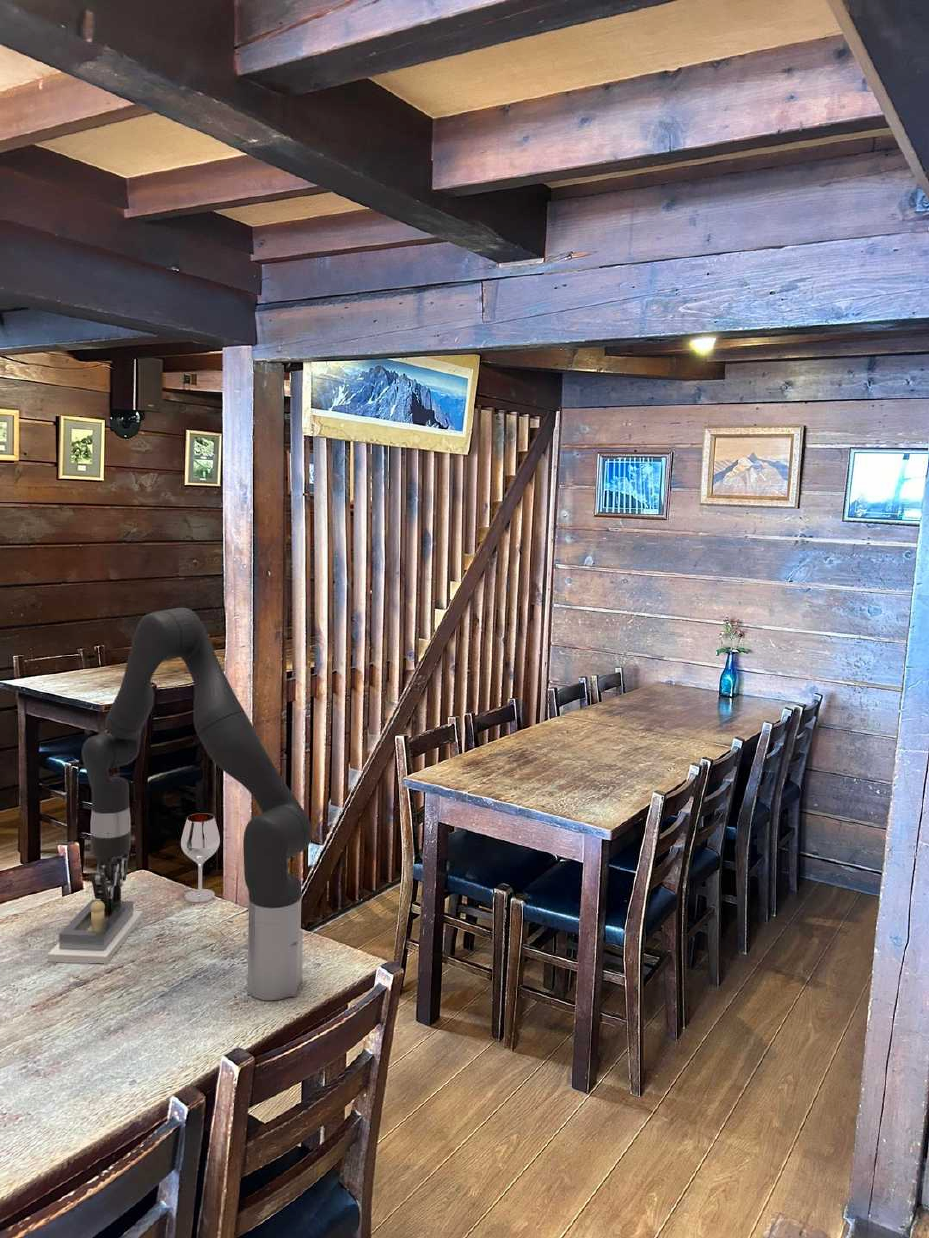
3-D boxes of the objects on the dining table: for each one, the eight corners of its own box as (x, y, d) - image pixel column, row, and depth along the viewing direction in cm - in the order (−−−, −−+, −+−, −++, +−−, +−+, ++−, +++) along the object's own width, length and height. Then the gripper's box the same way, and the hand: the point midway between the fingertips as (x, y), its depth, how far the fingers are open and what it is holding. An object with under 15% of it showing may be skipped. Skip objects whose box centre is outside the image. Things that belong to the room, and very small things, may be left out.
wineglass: (180, 889, 200) (181, 812, 198) (218, 886, 203) (219, 810, 201) (180, 905, 193) (181, 825, 190) (219, 902, 195) (220, 822, 193)
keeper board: (142, 917, 186) (142, 882, 185) (106, 964, 167) (106, 924, 166) (90, 915, 186) (89, 879, 185) (47, 961, 167) (47, 922, 166)
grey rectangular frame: (92, 913, 184) (92, 899, 184) (133, 914, 184) (133, 901, 184) (59, 948, 169) (59, 933, 169) (103, 950, 169) (103, 935, 169)
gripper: (115, 843, 174) (115, 927, 176) (141, 818, 188) (141, 895, 190) (76, 841, 174) (77, 925, 176) (106, 816, 188) (106, 894, 190)
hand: (111, 909), depth 183 cm, fingers open, 4 cm apart
